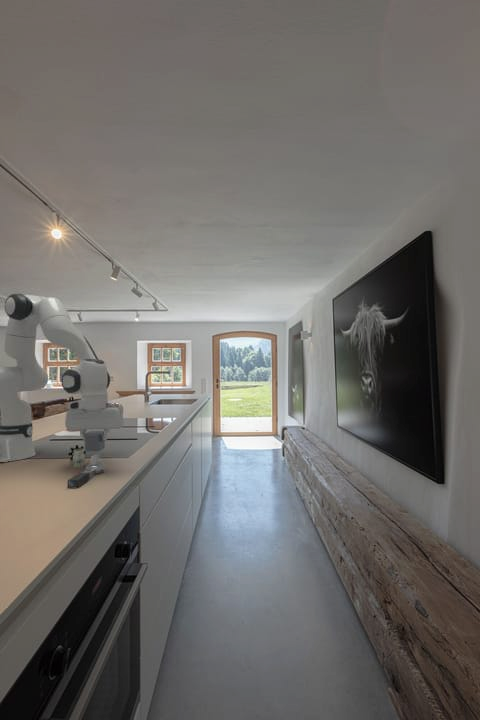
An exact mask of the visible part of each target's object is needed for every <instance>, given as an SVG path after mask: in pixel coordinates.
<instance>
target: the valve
mask: <svg viewBox="0 0 480 720" xmlns="http://www.w3.org/2000/svg"><path fill="white" fill-rule="evenodd" d="M70 451H71V452H70ZM86 453H87V452H85V446H83V445H82V446H79V444H76V445H75V447H70V449H69V452H68V453H67V456H71V457H70V461H73V468H75V469H78V468H79V469H80V468H83V467H84V465H85V464H84V463H85V459H86V458H85V457H86V456H85V454H86Z"/></svg>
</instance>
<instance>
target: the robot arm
mask: <svg viewBox="0 0 480 720" xmlns="http://www.w3.org/2000/svg"><path fill="white" fill-rule="evenodd" d="M4 311H5V313H6V315H7V316H8V317H9V318H8V321H7V325H6V330H5V339H4V348H3V349H4V352H5V354H6V355H7V356H8V357H10V358H12V359H14V360H15V361H16V366H0V462H4V463H8V461H9V462H12V461H20V460H25V459H29V458H32V457H34V456H36V451H35V446H34V443H33V430H34V429H33V423H32V406H31V405H30V403H29V402H27V401H25V400H23V399H21V398H20V397H19V393H18V392H35V391H38V390H42V389H45V388H46V386H47V384H48V382H49V375H48V372H47V370H45V368H43V367H42V366H41V364H40V363H39V362H38V360H37V358H36V357H37V356H36V341H37V329H38V326H39V325H40V328H41V331H42V333H43V335H44V337H45V339H46V340H47V341H48V342H50V343H52V344H53V345H55V346H58V347H62V348H64V349H67V350H69V351H72V352H73V353H75V354H76V355H77V356H78V357H79V358H80V361H81V363H80V364H78V365H77V366H74V367H73V368H69V369H66V370H65V371H64V373H63V374H62V375H61V387H62V390H64V391H65V392H66V393H67V394H73V395H77V394H78V395H79V394H81V399H77V400H75V401H71V402H70V403H68V404H67V406H66V407H67V409H68V410H67V412H66V414H65V420H64V421H65V423H64V424H65V429H67V430H79V433H80V435H81V437H82V441H83V442H84V443H85V433H86V432H87V430H103V431H104V436H102V437H101V441H105V442H107V441H108V439H107V436H108V435H109V433H110V431H111V430H118V429H119V430H120V429H122V428H123V427H124V425H125V424H124V415H123V414H124V406H123V405H122V404H120V402H119V403H118V402H116V403H113V402H108V401H109V400H108V396H109V395H108V391H107V389H108V388H109V386H110V384H111V376H110V373H109V371H108V369H107V365H106V362H105V361H104V360H102V359H99V358H98V356H97V354H96V353H95V351H94V349H93V347H92V345H91V344H90V342H89V341H88V339H87V338H86V337H85V336H84V335H83V334H82V333H81V332H80V331H79V330H78V328H77V327H76V326H75V324H74V322H73V321H72V318H71V317H70V314H69V312H68V310H67V308H66V306H65V305H64V304H63V302H62V301H61V300H60V299H59V298H57V297H53V296H49V297H48V296H43V295H39V294H38V295H33V294H23V293H12V294H10V295H9V296H7V298H6V300H5V302H4Z"/></svg>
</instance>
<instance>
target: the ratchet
mask: <svg viewBox="0 0 480 720" xmlns="http://www.w3.org/2000/svg"><path fill="white" fill-rule="evenodd" d="M105 466H106V465H105V463H104V462H100V454H93V455H91V456H90V463H86V464H85V470H84V471H82V472H78V473H77V474H75V475H73V476H72V477H71V478H68V480H67V489H79V488H81V487H82V486H84V484H86V483H88V482H89V481H90V479H92V478H93V477H95V476H96V475H101V474H103V473H105V470H106V469H105Z"/></svg>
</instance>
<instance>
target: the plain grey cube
mask: <svg viewBox="0 0 480 720" xmlns="http://www.w3.org/2000/svg"><path fill="white" fill-rule="evenodd" d="M104 434H105V432H104V430H91V431H88V432H85V442H84V451H85V452H86V453H88V452H89V453H91V452H93V453H94V452H96V453H97V452H101V451H103V450H104V449H105V448H106V446H105V445H106V444H105V442H106V441H101V437H102V436H104Z"/></svg>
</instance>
